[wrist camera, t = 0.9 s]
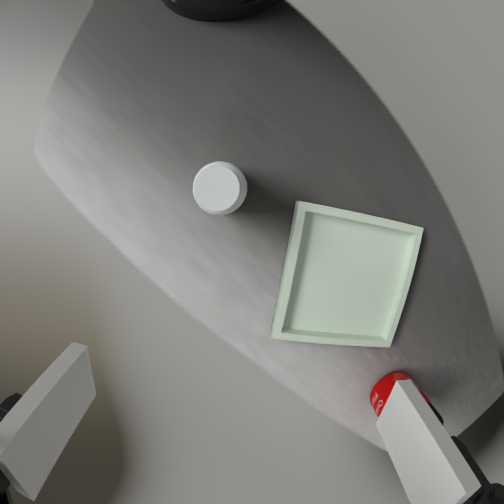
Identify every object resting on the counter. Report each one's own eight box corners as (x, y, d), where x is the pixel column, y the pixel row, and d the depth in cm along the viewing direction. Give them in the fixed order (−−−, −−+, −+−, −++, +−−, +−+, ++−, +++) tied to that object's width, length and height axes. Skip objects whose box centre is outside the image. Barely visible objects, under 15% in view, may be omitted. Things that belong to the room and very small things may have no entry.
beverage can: (391, 360, 33) (434, 419, 21) (416, 377, 34) (457, 430, 22) (358, 395, 34) (389, 459, 22) (385, 409, 35) (417, 467, 23)
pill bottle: (253, 175, 28) (256, 170, 20) (237, 217, 29) (233, 227, 21) (211, 159, 28) (199, 149, 20) (195, 201, 28) (177, 206, 21)
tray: (295, 200, 29) (298, 200, 27) (415, 225, 29) (423, 228, 28) (270, 330, 31) (272, 338, 30) (383, 340, 32) (389, 347, 30)
